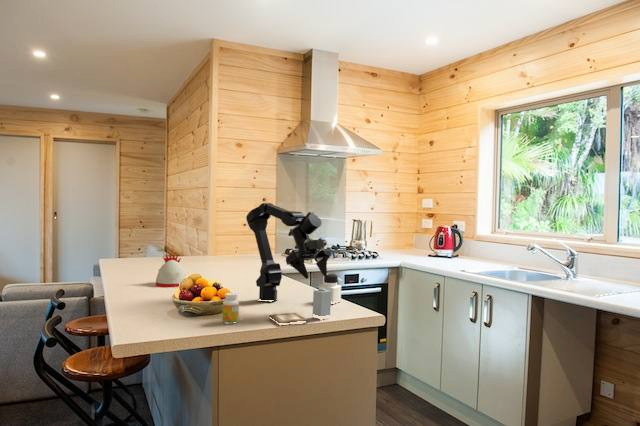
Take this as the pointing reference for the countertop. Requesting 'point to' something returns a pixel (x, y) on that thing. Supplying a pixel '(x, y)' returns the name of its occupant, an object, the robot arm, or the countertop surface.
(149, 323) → the countertop surface
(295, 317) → the pedestal
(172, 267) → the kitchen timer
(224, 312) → the supplement bottle
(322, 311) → the pillar
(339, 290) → the medicine bottle
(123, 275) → the countertop surface
